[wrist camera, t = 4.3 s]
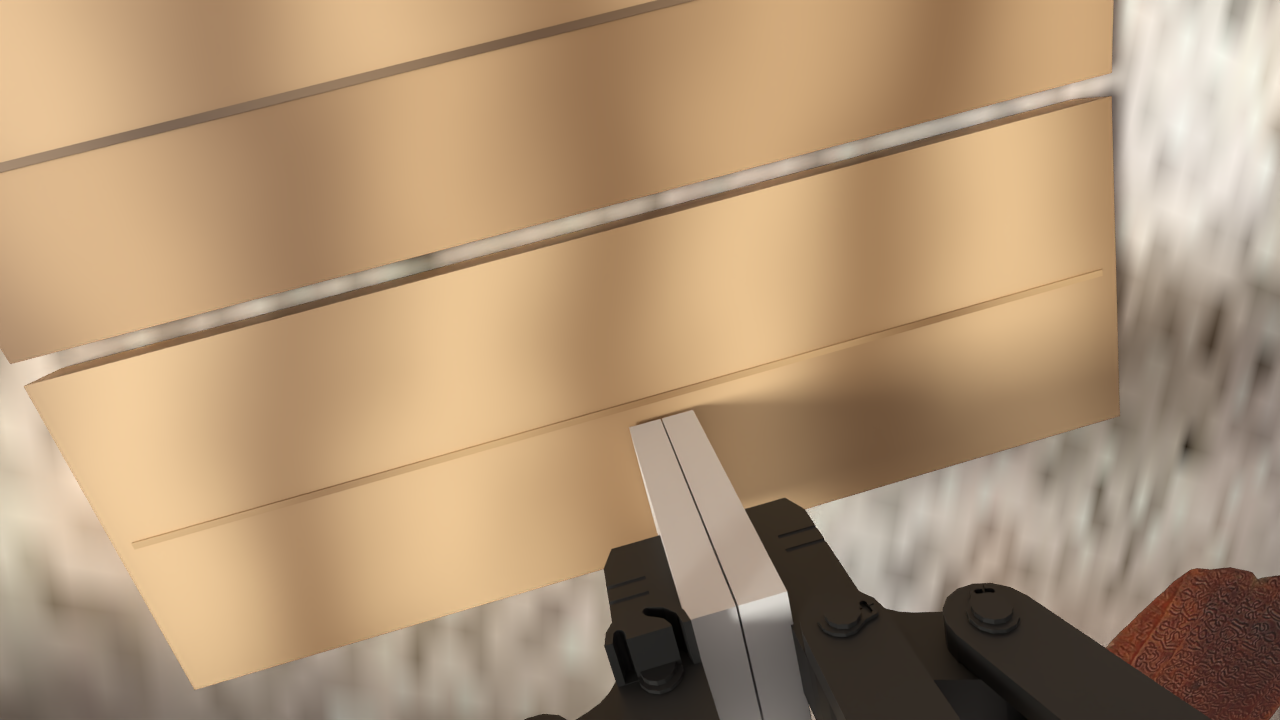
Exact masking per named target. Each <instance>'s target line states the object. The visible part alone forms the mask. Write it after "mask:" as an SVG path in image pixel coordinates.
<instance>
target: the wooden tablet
mask: <svg viewBox="0 0 1280 720" xmlns="http://www.w3.org/2000/svg"><path fill="white" fill-rule="evenodd" d="M1106 649H1108V650H1109V651H1110V652H1112V653H1113V654H1115V655H1116V656H1118V657H1119V658H1121V659H1122V660H1124V661H1125V662H1127V663H1128V664H1130V665H1131V666H1133V667H1134V668H1136V669H1137V670H1139V671H1140V672H1142V673H1143V674H1145V675H1146V676H1148V677H1149V678H1151V679H1152V680H1154V681H1155V682H1157V683H1158V684H1160V685H1161V686H1163V687H1164V688H1166V689H1167V690H1169V691H1170V692H1172V693H1173V694H1175V695H1176V696H1178V697H1179V698H1180V699H1182V700H1183V701H1185V702H1186V703H1188V704H1189V705H1191V706H1192V707H1194V708H1195V709H1197V710H1198V711H1200V712H1201V713H1203V714H1204V715H1206V716H1207V717H1209V718H1210V719H1212V720H1269V719H1270V718H1271V717H1272V716H1273V714H1274V713H1275V712H1276V710H1277V709H1278V708H1279V706H1280V576H1272V577H1265V578H1260V579H1257V578H1256V577H1255V575H1254V574H1253V573H1252V572H1249V571H1245V570H1240V569H1235V568H1231V567H1230V568H1220V569H1212V570H1209V569H1200V568H1196V569H1192V570H1190V571H1188V572H1187V573H1185V574H1184V575H1182V576H1181V577H1180V578H1178V579H1177V580H1175V581H1174V582H1173V583H1172V584H1171V585H1170V586H1169V587H1168V588H1167V589H1166V590H1165V591H1164V592H1163V593H1161V594H1160V595H1159V596H1158V597H1157V598H1156V599H1155V600H1153V601H1152V602H1151V603H1150V604H1149V605H1148V606H1147V607H1146V608H1145V609H1144V610H1143V611H1142V612H1141V613H1139V614H1138V615H1137V617H1136V618H1135V619H1134V620H1133V621H1132V622H1131V623H1130V624H1129V625H1128V626H1126V627H1125V628H1124V629H1123V630H1122V631H1121V632H1120V633H1119V634H1118V635H1117V636H1116V637H1115V638H1114V639H1113V640H1112V641H1111V642H1110V644H1109V645H1108V646H1107V647H1106Z"/></svg>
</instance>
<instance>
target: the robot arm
mask: <svg viewBox="0 0 1280 720" xmlns="http://www.w3.org/2000/svg"><path fill="white" fill-rule="evenodd" d="M662 421H663V424H662V422H661V419H658V420H654V421H650V422H647V423H643V424H640V425H636V426H632V427H629V429H630V433H631V437H632V440H633V444H634V448H635V452H636V455H637V459H638V463H639V467H640V470H641V474H642V478H643V482H644V485H645V489H646V493H647V497H648V500H649V504H650V508H651V512H652V515H653V519H654V523H655V526H656V530H657V533H658V536H655V537H651V538H648V539H644V540H641V541H637V542H634V543H630V544H627V545H623V546H620V547H616V548H613V549H611V551H610V554H609V556H608V559H607V561H606V564H605V566H604V573H605V579H606V586H607V592H608V598H609V604H610V611H611V618H612V624H611V625H610V627H609V629H608V630H607V632H606V637H605V645H604V646H605V649H606V652H607V655H608V659H609V662H610V665H611V668H612V671H613V674H614V677H615V680H616V682H615V684H614V686H613V687H612V689H611V691H610V693H609V694H608V695H607V696H606V697H605V698H604V700H603V701H602V702H601V703H600V704H598V705H597V706H596V707H594V708H593V709H592V710H590V711H589V712H588V713H586V714H584V715H583V716H581V717H580V718H578V719H576V720H812V719H811V714H810V708H811V710H812V712H813V714H814V716H815V719H816V720H1212V719H1210V718H1209V717H1207V716H1206V715H1204V714H1203V713H1201V712H1200V711H1198V710H1197V709H1195V708H1194V707H1192V706H1191V705H1189V704H1188V703H1186V702H1185V701H1183V700H1182V699H1180V698H1179V697H1178V696H1176V695H1175V694H1173V693H1172V692H1170V691H1169V690H1167V689H1166V688H1164V687H1163V686H1161V685H1160V684H1158V683H1157V682H1155V681H1154V680H1152V679H1151V678H1149V677H1148V676H1146V675H1145V674H1143V673H1142V672H1140V671H1139V670H1137V669H1136V668H1134V667H1133V666H1131V665H1130V664H1128V663H1127V662H1125V661H1124V660H1122V659H1121V658H1119V657H1118V656H1116V655H1115V654H1113V653H1112V652H1110V651H1109V650H1108V649H1106V648H1105V647H1103V646H1102V645H1100V644H1099V643H1097V642H1096V641H1094V640H1093V639H1091V638H1090V637H1088V636H1087V635H1085V634H1084V633H1082V632H1081V631H1079V630H1078V629H1076V628H1075V627H1073V626H1072V625H1070V624H1069V623H1067V622H1066V621H1064V620H1063V619H1061V618H1060V617H1058V616H1057V615H1055V614H1054V613H1052V612H1051V611H1049V610H1048V609H1046V608H1045V607H1043V606H1042V605H1041V604H1039V603H1038V602H1036V601H1035V600H1033V599H1032V598H1030V597H1029V596H1027V595H1025V594H1023V593H1021V592H1019V591H1017V590H1015V589H1013V588H1011V587H1007V586H1002V585H998V584H993V583H982V584H971V585H968V586H965V587H962V588H959V589H957V590H956V591H954V592H953V593H952V594H951V595H950V596H948V597H947V599H946V602H945V604H944V607H943V612H922V613H910V612H898V611H893V610H889V609H885V608H884V607H883V606H882V605H881V604H880V603H878V602H877V601H876V600H875V599H874V598H873V597H870V596H868V595H866V594H864V593H861V592H860V591H859V590H858V589H857V588H856V586H855V585H854V583H853V582H852V580H851V578H850V577H849V575H848V574H847V572H846V571H845V569H844V568H843V566H842V565H841V563H840V562H839V560H838V559H837V557H836V556H835V554H834V553H833V551H832V550H831V548H830V547H829V545H828V544H827V542H826V541H824V538H823V536H822V535H821V533H820V532H819V530H818V529H817V528H816V527H815V524H814V523H813V521H812V520H811V518H810V517H809V515H808V514H807V512H806V511H805V509H804V508H802V507H800V506H799V505H797V504H795V503H794V502H792V501H790V500H788V499H787V498H781V499H778V500H774V501H771V502H767V503H764V504H760V505H757V506H753V507H750V508H746V509H744V507H743V505H742V503H741V501H740V499H739V498H738V496H737V494H736V492H735V490H734V488H733V486H732V484H731V482H730V480H729V478H728V476H727V474H726V472H725V471H724V469H723V467H722V465H721V463H720V461H719V459H718V457H717V455H716V453H715V451H714V449H713V447H712V445H711V444H710V442H709V440H708V438H707V436H706V434H705V432H704V430H703V428H702V426H701V424H700V422H699V420H698V418H697V417H696V415H695V413H694V411H693V410H690V411H687V412H683V413H679V414H676V415H672V416H668V417H665V418H662ZM663 425H664V427H663ZM809 705H810V708H809ZM525 720H566V719H565V718H563V717H561V716H559V715H549V714H542V715H538V716H534V717H530V718H527V719H525Z"/></svg>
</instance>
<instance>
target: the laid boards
mask: <svg viewBox="0 0 1280 720" xmlns="http://www.w3.org/2000/svg"><path fill="white" fill-rule="evenodd" d="M1112 38H1113V0H0V348H1V350H2V352H3V353H4V355H5V356H6V358H7V360H8V361H9V363H10V364H12V363H16V362H20V361H24V360H28V359H31V358H35V357H39V356H43V355H47V354H50V353H54V352H58V351H62V350H65V349H69V348H73V347H77V346H81V345H84V344H88V343H92V342H96V341H99V340H103V339H107V338H111V337H115V336H118V335H122V334H126V333H130V332H133V331H137V330H141V329H145V328H149V327H152V326H156V325H160V324H164V323H168V322H171V321H175V320H179V319H183V318H186V317H190V316H194V315H198V314H202V313H205V312H209V311H213V310H217V309H220V308H224V307H228V306H232V305H236V304H239V303H243V302H247V301H251V300H254V299H258V298H262V297H266V296H270V295H273V294H277V293H281V292H285V291H289V290H292V289H296V288H300V287H304V286H307V285H311V284H315V283H319V282H323V281H326V280H330V279H334V278H338V277H341V276H345V275H349V274H353V273H357V272H360V271H364V270H368V269H372V268H375V267H379V266H383V265H387V264H391V263H394V262H398V261H402V260H406V259H409V258H413V257H417V256H421V255H425V254H428V253H432V252H436V251H440V250H444V249H447V248H451V247H455V246H459V245H462V244H466V243H470V242H474V241H478V240H481V239H485V238H489V237H493V236H496V235H500V234H504V233H508V232H512V231H515V230H519V229H523V228H527V227H530V226H534V225H538V224H542V223H546V222H549V221H553V220H557V219H561V218H565V217H568V216H572V215H576V214H580V213H583V212H587V211H591V210H595V209H599V208H602V207H606V206H610V205H614V204H617V203H621V202H625V201H629V200H633V199H636V198H640V197H644V196H648V195H651V194H655V193H659V192H663V191H667V190H670V189H674V188H678V187H682V186H686V185H689V184H693V183H697V182H701V181H704V180H708V179H712V178H716V177H720V176H723V175H727V174H731V173H735V172H738V171H742V170H746V169H750V168H754V167H757V166H761V165H765V164H769V163H772V162H776V161H780V160H784V159H788V158H791V157H795V156H799V155H803V154H807V153H810V152H814V151H818V150H822V149H825V148H829V147H833V146H837V145H841V144H844V143H848V142H852V141H856V140H859V139H863V138H867V137H871V136H875V135H878V134H882V133H886V132H890V131H893V130H897V129H901V128H905V127H909V126H912V125H916V124H920V123H924V122H927V121H931V120H935V119H939V118H943V117H946V116H950V115H954V114H958V113H962V112H965V111H969V110H973V109H977V108H980V107H984V106H988V105H992V104H996V103H999V102H1003V101H1007V100H1011V99H1014V98H1018V97H1022V96H1026V95H1030V94H1033V93H1037V92H1041V91H1045V90H1048V89H1052V88H1056V87H1060V86H1064V85H1067V84H1071V83H1075V82H1079V81H1083V80H1086V79H1090V78H1094V77H1098V76H1101V75H1105V74H1109V73H1112Z"/></svg>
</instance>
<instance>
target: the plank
mask: <svg viewBox="0 0 1280 720" xmlns="http://www.w3.org/2000/svg"><path fill="white" fill-rule="evenodd" d="M24 388H25V389H26V391H27V393H28V395H29V396H30V398H31V400H32V402H33V404H34V405H35V407H36V409H37V411H38V412H39V414H40V416H41V418H42V420H43V421H44V423H45V425H46V427H47V428H48V430H49V432H50V434H51V436H52V437H53V439H54V441H55V443H56V444H57V446H58V448H59V450H60V452H61V453H62V455H63V457H64V459H65V460H66V462H67V464H68V466H69V468H70V469H71V471H72V473H73V475H74V476H75V478H76V480H77V482H78V484H79V485H80V487H81V489H82V491H83V492H84V494H85V496H86V498H87V500H88V501H89V503H90V505H91V507H92V508H93V510H94V512H95V514H96V516H97V517H98V519H99V521H100V523H101V524H102V526H103V528H104V530H105V532H106V533H107V535H108V537H109V539H110V540H111V542H112V544H113V546H114V548H115V549H116V551H117V553H118V555H119V556H120V558H121V560H122V562H123V564H124V565H125V567H126V569H127V571H128V572H129V574H130V576H131V578H132V580H133V581H134V583H135V585H136V587H137V588H138V590H139V592H140V594H141V596H142V597H143V599H144V601H145V603H146V604H147V606H148V608H149V610H150V612H151V613H152V615H153V617H154V619H155V620H156V622H157V624H158V626H159V628H160V629H161V631H162V633H163V635H164V636H165V638H166V640H167V642H168V644H169V645H170V647H171V649H172V651H173V652H174V654H175V656H176V658H177V660H178V661H179V663H180V665H181V667H182V668H183V670H184V672H185V674H186V676H187V677H188V679H189V681H190V683H191V684H192V686H193V688H194V690H197V689H200V688H203V687H207V686H210V685H213V684H217V683H220V682H224V681H227V680H230V679H234V678H237V677H240V676H244V675H247V674H251V673H254V672H257V671H261V670H264V669H267V668H271V667H274V666H278V665H281V664H284V663H288V662H291V661H294V660H298V659H301V658H305V657H308V656H311V655H315V654H318V653H321V652H325V651H328V650H332V649H335V648H338V647H342V646H345V645H348V644H352V643H355V642H359V641H362V640H365V639H369V638H372V637H375V636H379V635H382V634H386V633H389V632H392V631H396V630H399V629H402V628H406V627H409V626H413V625H416V624H419V623H423V622H426V621H429V620H433V619H436V618H440V617H443V616H446V615H450V614H453V613H456V612H460V611H463V610H467V609H470V608H473V607H477V606H480V605H483V604H487V603H490V602H494V601H497V600H500V599H504V598H507V597H510V596H514V595H517V594H521V593H524V592H527V591H531V590H534V589H537V588H541V587H544V586H548V585H551V584H554V583H558V582H561V581H564V580H568V579H571V578H575V577H578V576H581V575H585V574H588V573H591V572H595V571H598V570H602V569H604V566H605V564H606V561H607V559H608V556H609V554H610V551H611V549H613V548H616V547H620V546H623V545H627V544H630V543H634V542H637V541H641V540H644V539H648V538H651V537H655V536H658V533H657V530H656V526H655V523H654V519H653V515H652V512H651V508H650V504H649V500H648V497H647V493H646V489H645V485H644V482H643V478H642V474H641V470H640V467H639V463H638V459H637V455H636V452H635V448H634V444H633V440H632V437H631V433H630V429H629V427H632V426H636V425H640V424H643V423H647V422H650V421H654V420H658V419H661V422H662V424H663V421H662V418H665V417H668V416H672V415H676V414H679V413H683V412H687V411H690V410H693V411H694V413H695V415H696V417H697V418H698V420H699V422H700V424H701V426H702V428H703V430H704V432H705V434H706V436H707V438H708V440H709V442H710V444H711V445H712V447H713V449H714V451H715V453H716V455H717V457H718V459H719V461H720V463H721V465H722V467H723V469H724V471H725V472H726V474H727V476H728V478H729V480H730V482H731V484H732V486H733V488H734V490H735V492H736V494H737V496H738V498H739V499H740V501H741V503H742V505H743V507H744V509H746V508H750V507H753V506H757V505H760V504H764V503H767V502H771V501H774V500H778V499H781V498H787V499H788V500H790V501H792V502H794V503H795V504H797V505H799V506H800V507H802V508H804V509H807V508H811V507H814V506H817V505H821V504H824V503H828V502H831V501H834V500H838V499H841V498H844V497H848V496H851V495H855V494H858V493H861V492H865V491H868V490H871V489H875V488H878V487H882V486H885V485H888V484H892V483H895V482H898V481H902V480H905V479H909V478H912V477H915V476H919V475H922V474H925V473H929V472H932V471H936V470H939V469H942V468H946V467H949V466H952V465H956V464H959V463H963V462H966V461H969V460H973V459H976V458H979V457H983V456H986V455H990V454H993V453H996V452H1000V451H1003V450H1006V449H1010V448H1013V447H1017V446H1020V445H1023V444H1027V443H1030V442H1033V441H1037V440H1040V439H1044V438H1047V437H1050V436H1054V435H1057V434H1060V433H1064V432H1067V431H1071V430H1074V429H1077V428H1081V427H1084V426H1087V425H1091V424H1094V423H1098V422H1101V421H1104V420H1108V419H1111V418H1114V417H1118V416H1120V407H1119V368H1118V329H1117V290H1116V252H1115V213H1114V174H1113V135H1112V96H1108V97H1096V98H1083V99H1072V100H1069V101H1065V102H1061V103H1057V104H1054V105H1050V106H1046V107H1042V108H1039V109H1035V110H1031V111H1027V112H1023V113H1020V114H1016V115H1012V116H1008V117H1005V118H1001V119H997V120H993V121H990V122H986V123H982V124H978V125H975V126H971V127H967V128H963V129H960V130H956V131H952V132H948V133H945V134H941V135H937V136H933V137H929V138H926V139H922V140H918V141H914V142H911V143H907V144H903V145H899V146H896V147H892V148H888V149H884V150H881V151H877V152H873V153H869V154H866V155H862V156H858V157H854V158H851V159H847V160H843V161H839V162H835V163H832V164H828V165H824V166H820V167H817V168H813V169H809V170H805V171H802V172H798V173H794V174H790V175H787V176H783V177H779V178H775V179H772V180H768V181H764V182H760V183H757V184H753V185H749V186H745V187H742V188H738V189H734V190H730V191H726V192H723V193H719V194H715V195H711V196H708V197H704V198H700V199H696V200H693V201H689V202H685V203H681V204H678V205H674V206H670V207H666V208H663V209H659V210H655V211H651V212H648V213H644V214H640V215H636V216H632V217H629V218H625V219H621V220H617V221H614V222H610V223H606V224H602V225H599V226H595V227H591V228H587V229H584V230H580V231H576V232H572V233H569V234H565V235H561V236H557V237H554V238H550V239H546V240H542V241H538V242H535V243H531V244H527V245H523V246H520V247H516V248H512V249H508V250H505V251H501V252H497V253H493V254H490V255H486V256H482V257H478V258H475V259H471V260H467V261H463V262H460V263H456V264H452V265H448V266H444V267H441V268H437V269H433V270H429V271H426V272H422V273H418V274H414V275H411V276H407V277H403V278H399V279H396V280H392V281H388V282H384V283H381V284H377V285H373V286H369V287H366V288H362V289H358V290H354V291H350V292H347V293H343V294H339V295H335V296H332V297H328V298H324V299H320V300H317V301H313V302H309V303H305V304H302V305H298V306H294V307H290V308H287V309H283V310H279V311H275V312H272V313H268V314H264V315H260V316H257V317H253V318H249V319H245V320H241V321H238V322H234V323H230V324H226V325H223V326H219V327H215V328H211V329H208V330H204V331H200V332H196V333H193V334H189V335H185V336H181V337H178V338H174V339H170V340H166V341H163V342H159V343H155V344H151V345H147V346H144V347H140V348H136V349H132V350H129V351H125V352H121V353H117V354H114V355H110V356H106V357H102V358H99V359H95V360H91V361H87V362H84V363H80V364H76V365H72V366H69V367H65V368H61V369H59V370H57V371H55V372H53V373H51V374H48V375H46V376H44V377H42V378H40V379H38V380H36V381H34V382H32V383H30V384H27V385H25V386H24ZM663 427H664V425H663Z"/></svg>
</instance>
